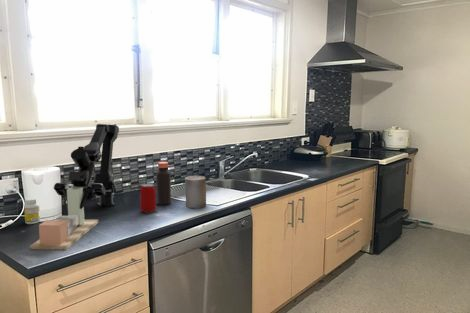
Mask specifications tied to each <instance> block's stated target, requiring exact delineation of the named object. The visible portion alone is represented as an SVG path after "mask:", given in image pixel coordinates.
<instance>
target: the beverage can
mask: <svg viewBox="0 0 470 313" xmlns="http://www.w3.org/2000/svg"><path fill="white" fill-rule="evenodd" d="M139 200H140V205H139V206H140V211H141V212H143V213H152V212H154V211H155V210H156V209H157V193H156V186H155V184H153V183H142V184H141V186H140V188H139Z"/></svg>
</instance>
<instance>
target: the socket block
mask: <svg viewBox="0 0 470 313" xmlns="http://www.w3.org/2000/svg"><path fill="white" fill-rule="evenodd" d="M38 232H39V233H38V234H39V239H40V244H62V243H63V242H65V241H66V240H67V239H68V234H67V221H57V220H55V219H53V220H49V219H48V220H45V221H43V222H42V223H39V224H38Z"/></svg>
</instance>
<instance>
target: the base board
mask: <svg viewBox="0 0 470 313" xmlns="http://www.w3.org/2000/svg"><path fill="white" fill-rule="evenodd" d="M54 220H57V221H67V234H68V239H67V240H66V241H65V242H63V243H62V244H40V238H38V240H37V241H35V242H34V243H31V244H30V246H29V247H30V248H29V249H30V250H54V251H55V249H57V250H58V249H59V250H60V251H61V250H62V251H63V249H64V250H65V251H66V249H67V250H68V249H69V248H70V247H71V246H73V245H74V244H75V243H76V242H77V241H79V240H80V239H81V238H82V237H83V236H85V234H86V233H89V231H91V230H92V229H93V228H94V227H96V225H97V224H99V219H86V218H84V221H85V222H84V223H83V224H81V225H77V226H76V216H68V215H59V216H58V217H56V218H55V219H54ZM59 250H58V251H59Z"/></svg>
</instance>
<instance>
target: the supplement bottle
mask: <svg viewBox="0 0 470 313" xmlns="http://www.w3.org/2000/svg"><path fill="white" fill-rule="evenodd" d="M36 203H37V202H36V199H28V198H26V199H25V204H24V207H23V209H24V210H23V211H24V222H25V224H27V225H32V224H37V223H39V222H40V221H41V215H40V216H39V211H40V205H39V206H38V205H37V204H36Z"/></svg>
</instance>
